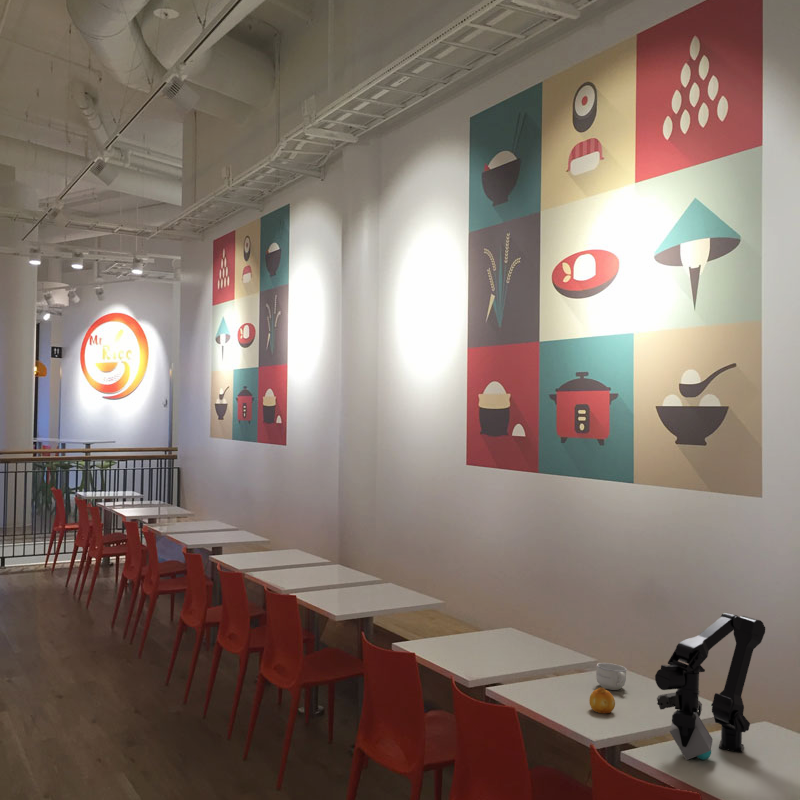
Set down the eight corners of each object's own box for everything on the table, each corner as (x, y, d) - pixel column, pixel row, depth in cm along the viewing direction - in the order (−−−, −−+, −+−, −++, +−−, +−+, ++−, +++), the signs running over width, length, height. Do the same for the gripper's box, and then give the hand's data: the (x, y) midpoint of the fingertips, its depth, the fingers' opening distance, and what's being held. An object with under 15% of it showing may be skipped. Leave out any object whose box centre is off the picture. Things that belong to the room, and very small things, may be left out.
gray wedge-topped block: (688, 748, 234) (672, 720, 236) (712, 739, 231) (695, 711, 233) (686, 760, 227) (669, 731, 229) (710, 750, 224) (693, 721, 226)
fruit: (594, 709, 260) (604, 687, 262) (581, 703, 267) (591, 681, 270) (612, 721, 261) (623, 699, 264) (599, 715, 269) (609, 693, 271)
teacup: (591, 683, 297) (592, 661, 297) (619, 683, 298) (620, 661, 298) (605, 695, 283) (606, 672, 283) (634, 695, 284) (635, 673, 284)
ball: (712, 740, 230) (710, 757, 230) (693, 736, 232) (692, 753, 232) (711, 746, 225) (710, 764, 225) (693, 742, 227) (691, 759, 227)
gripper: (664, 675, 243) (662, 726, 242) (654, 689, 227) (652, 745, 226) (702, 681, 238) (701, 734, 237) (695, 697, 222) (693, 754, 221)
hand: (686, 741), depth 230 cm, fingers open, 9 cm apart
